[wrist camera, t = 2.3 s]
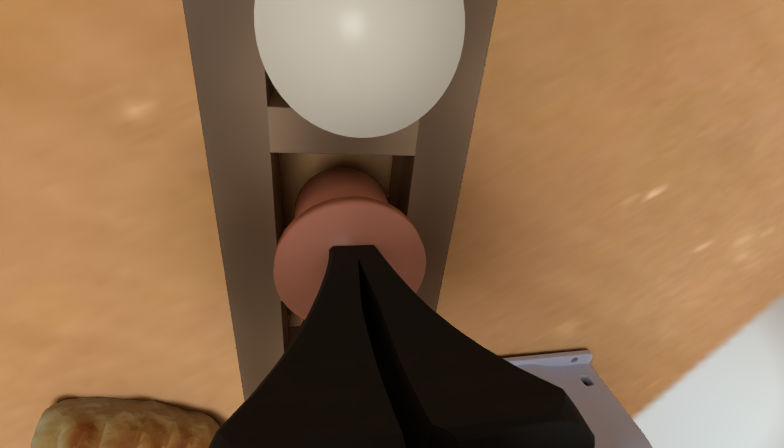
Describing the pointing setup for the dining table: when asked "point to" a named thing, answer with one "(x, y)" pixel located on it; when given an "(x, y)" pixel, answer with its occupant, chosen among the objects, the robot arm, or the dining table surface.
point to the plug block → (297, 135)
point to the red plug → (342, 234)
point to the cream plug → (360, 59)
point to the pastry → (122, 425)
